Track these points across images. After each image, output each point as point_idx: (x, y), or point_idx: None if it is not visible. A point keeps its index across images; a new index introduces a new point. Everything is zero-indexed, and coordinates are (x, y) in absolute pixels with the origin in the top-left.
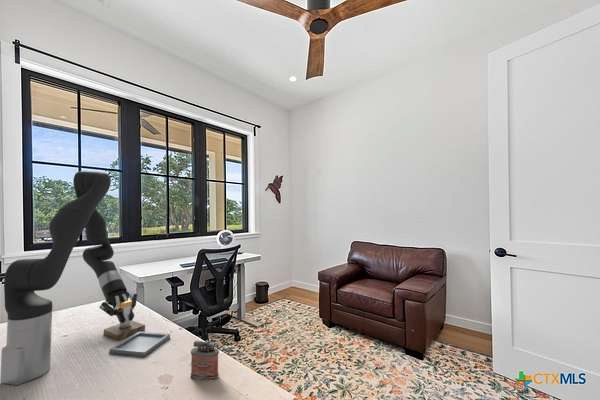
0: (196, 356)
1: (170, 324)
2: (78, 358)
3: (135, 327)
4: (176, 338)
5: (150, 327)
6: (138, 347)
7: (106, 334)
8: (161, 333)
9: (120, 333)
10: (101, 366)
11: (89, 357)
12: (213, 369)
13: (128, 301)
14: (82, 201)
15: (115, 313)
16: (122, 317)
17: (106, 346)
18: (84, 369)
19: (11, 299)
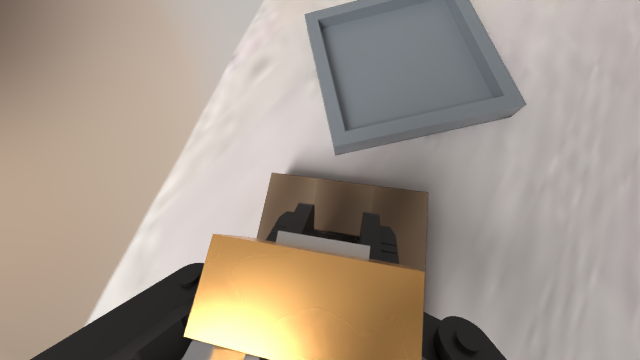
0: None
1: (199, 124)
2: (628, 205)
3: (315, 192)
4: (301, 12)
5: (248, 182)
6: (425, 45)
7: None
8: (312, 44)
9: (406, 201)
10: (578, 55)
11: (585, 165)
12: None
13: (246, 283)
14: None
15: (430, 318)
16: (380, 235)
17: (482, 196)
18: (637, 87)
19: None
